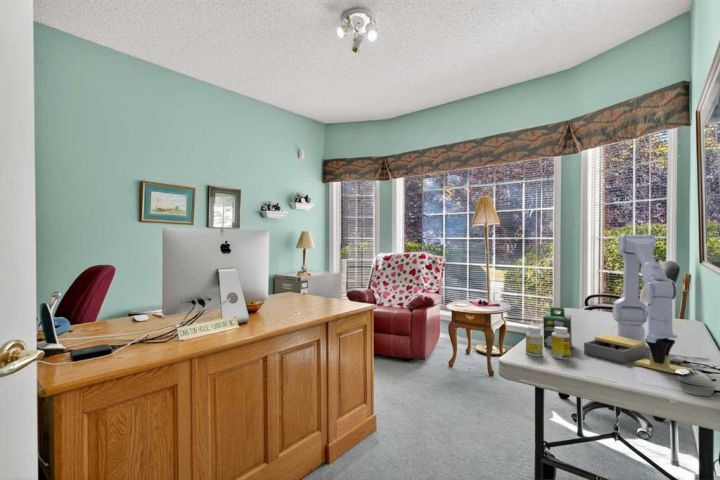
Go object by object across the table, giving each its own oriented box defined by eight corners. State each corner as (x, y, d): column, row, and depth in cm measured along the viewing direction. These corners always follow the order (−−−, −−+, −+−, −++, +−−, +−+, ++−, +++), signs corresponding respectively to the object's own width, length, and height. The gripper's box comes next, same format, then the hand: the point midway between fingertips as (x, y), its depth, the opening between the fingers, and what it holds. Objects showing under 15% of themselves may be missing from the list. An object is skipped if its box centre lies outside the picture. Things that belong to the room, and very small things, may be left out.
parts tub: (607, 346, 132) (607, 333, 132) (645, 355, 122) (645, 341, 122) (584, 353, 124) (584, 339, 124) (623, 363, 113) (623, 348, 113)
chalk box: (571, 344, 135) (571, 306, 135) (571, 350, 127) (571, 310, 127) (544, 341, 140) (545, 304, 140) (542, 346, 132) (543, 307, 132)
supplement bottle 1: (540, 357, 118) (540, 329, 119) (523, 354, 122) (524, 327, 122) (544, 354, 123) (544, 327, 123) (528, 351, 126) (528, 324, 126)
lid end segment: (644, 361, 116) (643, 348, 116) (692, 372, 105) (691, 357, 106) (635, 364, 112) (634, 350, 112) (683, 375, 102) (683, 360, 102)
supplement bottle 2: (565, 361, 115) (565, 330, 116) (548, 356, 120) (548, 327, 120) (573, 358, 118) (573, 328, 119) (556, 353, 123) (556, 325, 123)
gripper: (667, 324, 101) (667, 370, 101) (685, 318, 108) (685, 362, 108) (638, 319, 107) (638, 363, 107) (657, 314, 114) (657, 356, 114)
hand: (660, 362), depth 108 cm, fingers closed on lid end segment, 2 cm apart
